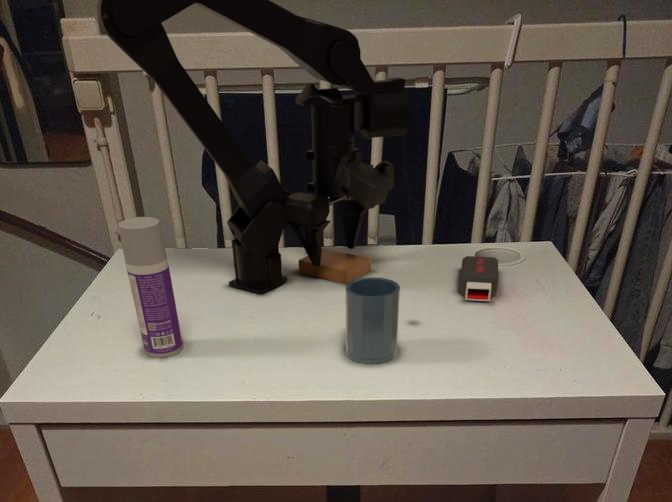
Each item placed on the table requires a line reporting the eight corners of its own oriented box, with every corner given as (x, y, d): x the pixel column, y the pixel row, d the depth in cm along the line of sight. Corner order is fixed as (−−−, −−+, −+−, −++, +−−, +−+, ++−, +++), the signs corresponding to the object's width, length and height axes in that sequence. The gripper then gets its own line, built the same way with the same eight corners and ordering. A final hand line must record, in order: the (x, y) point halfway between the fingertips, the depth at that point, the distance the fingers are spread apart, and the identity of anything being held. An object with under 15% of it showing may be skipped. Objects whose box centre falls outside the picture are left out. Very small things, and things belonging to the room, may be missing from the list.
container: (189, 343, 78) (168, 217, 68) (171, 360, 74) (146, 230, 65) (157, 338, 79) (132, 215, 70) (137, 355, 76) (108, 227, 66)
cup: (336, 355, 74) (335, 290, 69) (363, 337, 78) (364, 273, 73) (379, 368, 71) (382, 301, 66) (405, 348, 75) (409, 283, 70)
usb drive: (496, 272, 94) (499, 253, 92) (496, 303, 84) (499, 283, 83) (461, 270, 95) (463, 252, 93) (457, 301, 85) (459, 281, 84)
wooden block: (298, 273, 96) (298, 260, 95) (323, 260, 100) (322, 248, 99) (347, 284, 92) (347, 270, 90) (370, 271, 96) (370, 257, 94)
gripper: (344, 160, 75) (344, 287, 85) (418, 135, 87) (410, 248, 96) (272, 152, 80) (280, 272, 90) (351, 129, 92) (350, 237, 102)
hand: (334, 257), depth 94 cm, fingers open, 9 cm apart
